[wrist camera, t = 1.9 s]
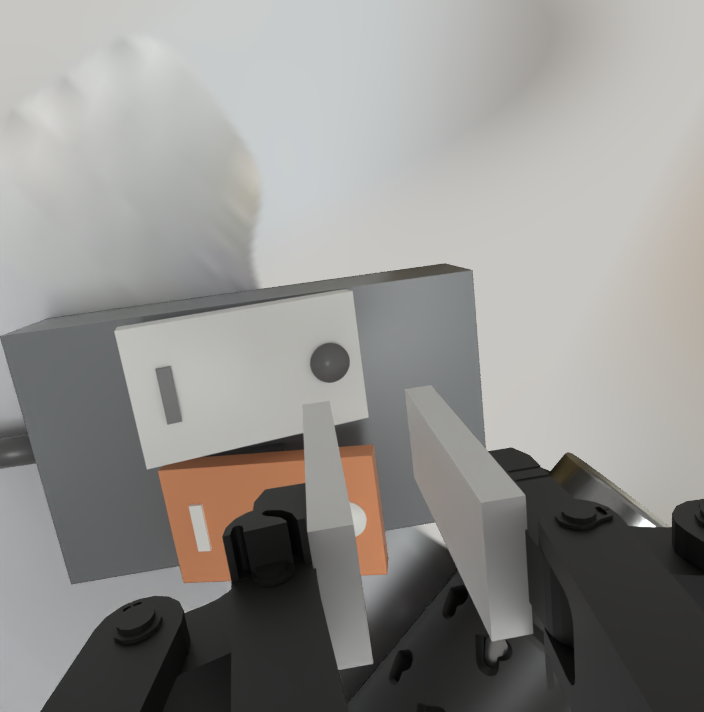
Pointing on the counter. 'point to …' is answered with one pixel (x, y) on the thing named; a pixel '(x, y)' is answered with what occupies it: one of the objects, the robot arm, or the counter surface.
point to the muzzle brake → (482, 638)
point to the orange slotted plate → (237, 496)
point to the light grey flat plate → (241, 374)
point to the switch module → (143, 487)
